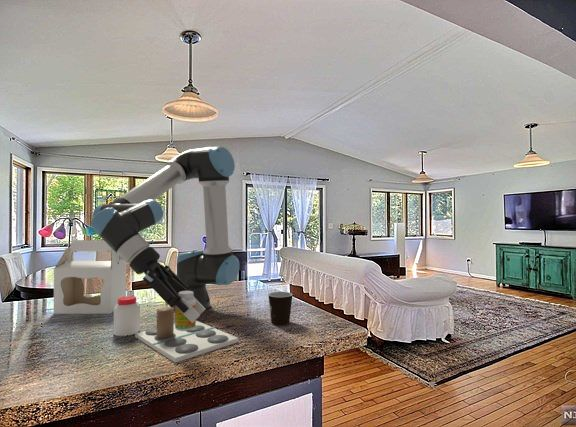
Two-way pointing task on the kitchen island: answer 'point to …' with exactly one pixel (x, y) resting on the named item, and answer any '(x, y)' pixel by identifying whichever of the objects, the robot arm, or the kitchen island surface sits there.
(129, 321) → the pill bottle
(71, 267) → the gable box
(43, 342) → the kitchen island surface
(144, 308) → the kitchen island surface
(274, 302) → the coffee mug
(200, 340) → the board
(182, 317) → the supplement bottle
